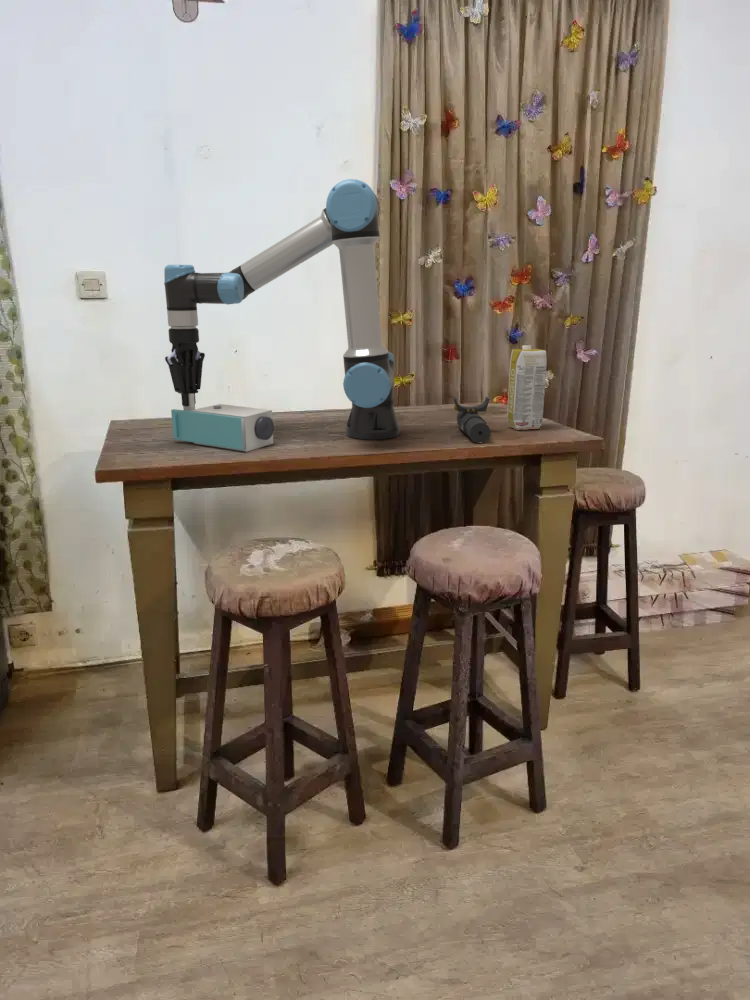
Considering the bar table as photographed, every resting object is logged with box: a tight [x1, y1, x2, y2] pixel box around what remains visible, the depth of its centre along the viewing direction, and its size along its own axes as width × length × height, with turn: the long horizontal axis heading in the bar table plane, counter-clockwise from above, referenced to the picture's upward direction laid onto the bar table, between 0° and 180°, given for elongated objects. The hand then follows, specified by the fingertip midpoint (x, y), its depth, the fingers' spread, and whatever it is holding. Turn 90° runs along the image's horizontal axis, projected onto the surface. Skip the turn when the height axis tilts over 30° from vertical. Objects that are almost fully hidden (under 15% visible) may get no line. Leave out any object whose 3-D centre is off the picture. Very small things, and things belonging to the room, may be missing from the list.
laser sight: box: [453, 396, 492, 443], centre depth 204 cm, size 10×22×10 cm, turn 3°
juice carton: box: [506, 344, 548, 428], centre depth 210 cm, size 9×8×24 cm
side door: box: [170, 408, 246, 450], centre depth 188 cm, size 24×2×8 cm, turn 60°
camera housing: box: [192, 403, 275, 453], centre depth 192 cm, size 20×11×10 cm, turn 60°
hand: (189, 417), depth 194 cm, fingers closed
